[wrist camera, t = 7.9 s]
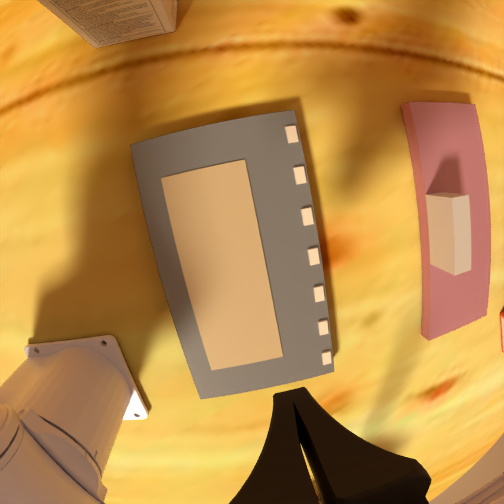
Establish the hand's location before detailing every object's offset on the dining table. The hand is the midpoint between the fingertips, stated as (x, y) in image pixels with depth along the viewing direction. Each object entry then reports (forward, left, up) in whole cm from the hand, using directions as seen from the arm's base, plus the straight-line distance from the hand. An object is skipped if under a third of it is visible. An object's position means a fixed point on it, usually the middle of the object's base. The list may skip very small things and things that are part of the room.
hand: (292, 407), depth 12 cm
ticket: (-1, +4, -9) cm, 10 cm away
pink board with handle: (+16, +4, -9) cm, 19 cm away
